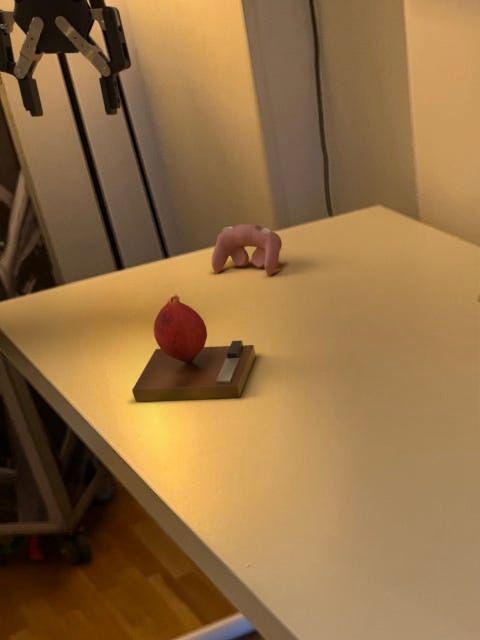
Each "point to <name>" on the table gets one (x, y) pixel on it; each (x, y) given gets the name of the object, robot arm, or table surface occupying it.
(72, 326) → the table surface
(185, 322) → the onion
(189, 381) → the cutting board
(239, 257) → the video game controller
